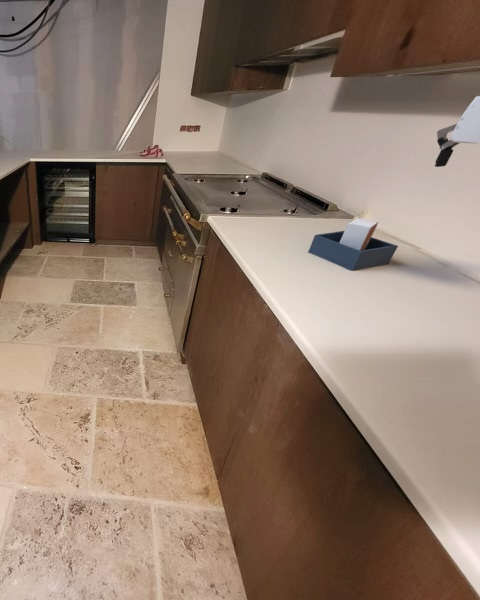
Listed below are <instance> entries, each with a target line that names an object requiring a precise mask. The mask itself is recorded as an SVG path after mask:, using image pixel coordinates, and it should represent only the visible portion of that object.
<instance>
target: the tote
mask: <svg viewBox="0 0 480 600" xmlns="http://www.w3.org/2000/svg"><path fill="white" fill-rule="evenodd" d="M344 231H345V230H340V231H332V232H326V233H325V232H324V233H319V234H315V235H314V237H313V239H312V241H311V243H310V247H309V249H308V251H307V252H308V253H310V254H313V255H315V256H317V257H319V258H322V259H323V260H325V261H328V262H331V263H334V264H336V265H338V266H341V267H343V268H345V269H348V270H350V271H353V272H354V271H358V270H363V269H368V268H374V267H379V266H384V265H389V264H390V262H391V260H392V259H393V257H394V254H395V252H396V251H397V249H398V248H399V245H397V244H394V243H391V242H388V241H384V240H381V239H379V238H375V237H373V236H371V238H370V241H369V243H368V245H367V247H366V249H365V250H362V251H360V250H357V249H354V248H352V247H349V246H346V245H343V244H341V243H340V240H341V238H342V236H343V234H344Z"/></svg>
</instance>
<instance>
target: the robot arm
mask: <svg viewBox="0 0 480 600" xmlns="http://www.w3.org/2000/svg"><path fill="white" fill-rule="evenodd" d="M451 132H452V133H451ZM448 133H451V135H450V138H449V139H448ZM436 135H437V137H436V138H437V141H436V142H437V144H438V146H439V150H440V151H439V153H438V156H437V158H436V159H435V164H434V167H436V168H440V167H445V166H447V164H448V162H449V160H450V158H451V157H452V155H453V153H454V149H453V148H454V147H456V146H458V145H459V144H471V145H472V144H473V145H480V95H476V96H475V97H474V99H472V101H471V102H470V103H469V105H468V106H467V108H466V109H465V110H464V112H463V114H462V115H461V117H460V118H459V120H458V121H457V123H455V124H452V125H450V126H447V127H443V128H441V129H439V130H437V131H436Z"/></svg>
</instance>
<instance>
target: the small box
mask: <svg viewBox="0 0 480 600" xmlns="http://www.w3.org/2000/svg"><path fill="white" fill-rule="evenodd" d="M378 224H379V222H378V221H376V220H375V221H374V220H369V219H364V218H360V217H359V218H358V217H356V218H354V219H353V220H352V221H350V222H348V223H347V225H346V227H345V229H344V230H343V231H344V234H343V236H342V238H341V240H340V243H341V244H343V245H346V246H349V247H352V248H354V249H357V250H360V251H362V250H365V249H366V247H367V245H368V243H369V241H370V238H371V237H373V234H374V233H375V231H376V229H377V226H378Z"/></svg>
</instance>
